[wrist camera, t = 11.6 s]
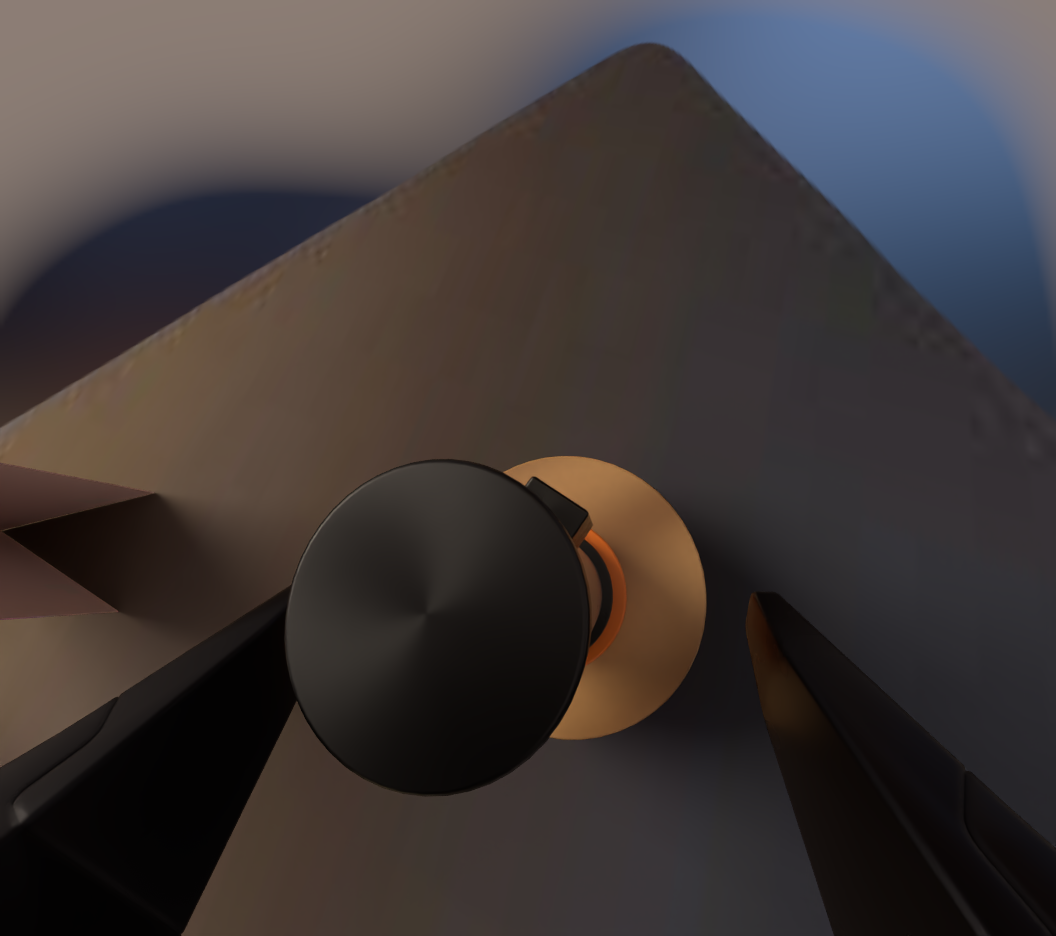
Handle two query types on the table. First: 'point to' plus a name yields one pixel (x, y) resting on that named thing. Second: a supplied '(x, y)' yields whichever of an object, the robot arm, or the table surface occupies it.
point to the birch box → (632, 594)
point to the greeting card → (22, 577)
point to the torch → (447, 623)
